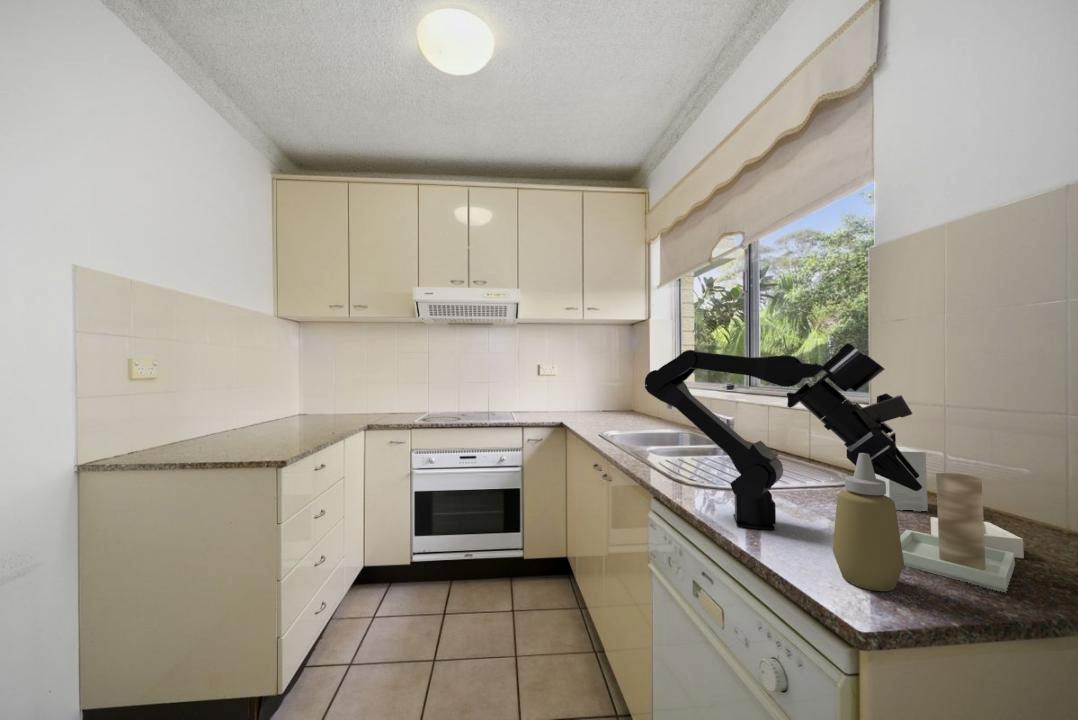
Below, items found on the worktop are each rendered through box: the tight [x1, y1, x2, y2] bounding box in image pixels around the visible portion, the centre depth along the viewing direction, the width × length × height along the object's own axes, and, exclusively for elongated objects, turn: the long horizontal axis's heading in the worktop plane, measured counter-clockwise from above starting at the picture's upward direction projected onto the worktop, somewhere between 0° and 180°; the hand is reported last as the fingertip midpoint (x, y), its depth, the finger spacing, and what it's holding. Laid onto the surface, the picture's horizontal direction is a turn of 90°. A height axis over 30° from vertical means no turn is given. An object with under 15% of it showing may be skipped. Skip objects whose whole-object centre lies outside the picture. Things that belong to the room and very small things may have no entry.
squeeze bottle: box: [832, 453, 905, 592], centre depth 61 cm, size 8×8×18 cm
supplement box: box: [875, 446, 929, 512], centre depth 95 cm, size 7×7×13 cm
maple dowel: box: [935, 472, 986, 570], centre depth 65 cm, size 5×5×13 cm
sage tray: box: [900, 529, 1016, 594], centre depth 66 cm, size 13×13×2 cm
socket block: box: [930, 516, 1025, 559], centre depth 73 cm, size 8×8×3 cm
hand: (918, 483), depth 68 cm, fingers open, 9 cm apart
